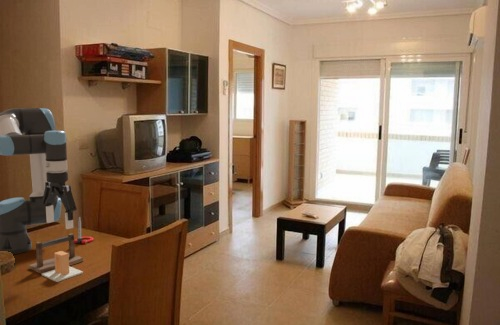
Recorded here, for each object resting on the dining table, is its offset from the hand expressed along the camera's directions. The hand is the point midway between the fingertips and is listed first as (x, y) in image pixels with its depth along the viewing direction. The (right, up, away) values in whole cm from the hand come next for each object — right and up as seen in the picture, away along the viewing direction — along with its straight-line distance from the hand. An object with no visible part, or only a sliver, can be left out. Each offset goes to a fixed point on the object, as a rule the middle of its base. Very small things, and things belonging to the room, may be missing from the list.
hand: (59, 225), depth 168 cm
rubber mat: (0, -20, +3) cm, 20 cm away
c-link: (0, -19, +3) cm, 19 cm away
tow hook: (-7, -14, +43) cm, 46 cm away
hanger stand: (-7, -18, +12) cm, 23 cm away
